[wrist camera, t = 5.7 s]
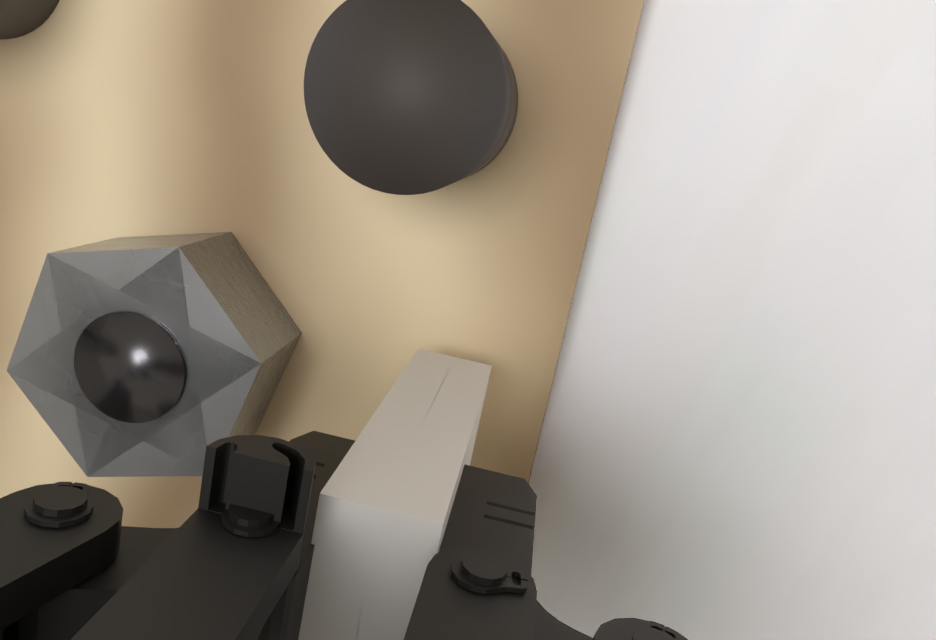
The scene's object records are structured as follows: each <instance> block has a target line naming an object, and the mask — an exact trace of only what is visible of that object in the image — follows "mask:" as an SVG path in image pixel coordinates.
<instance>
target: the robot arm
mask: <svg viewBox="0 0 936 640" xmlns="http://www.w3.org/2000/svg"><path fill="white" fill-rule="evenodd" d="M491 367H492V365H487V364H483V363H479V362H474V361H470V360H466V359H461V358H457V357H453V356H448V355H444V354H440V353H435V352H431V351H427V350H422V349H417V351H416V352H415V354H414V355H413V357H412V358H411V360H410V361H409V363H408V364H407V366H406V367H405V369H404V370H403V371H402V373H401V374H400V376H399V377H398V379H397V380H396V382H395V383H394V385H393V386H392V388H391V389H390V391H389V392H388V394H387V395H386V397H385V398H384V399H383V401H382V402H381V404H380V405H379V407H378V408H377V410H376V411H375V413H374V414H373V416H372V417H371V419H370V420H369V422H368V423H367V425H366V426H365V428H364V429H363V430H362V432H361V433H360V435H359V436H358V438H357V439H356V441H355V440H351V439H347V438H342V437H338V436H334V435H330V434H326V433H322V432H317V431H311V432H309V433H306V434H304V435H301V436H298V437H296V438H293V439H291V440H290V441H286V440H283V439H280V438H275V437H268V436H262V435H236V436H231V437H227V438H222V439H218V440H216V441H215V442H213V443H211V444H209V445H207V446H206V452H205V460H204V468H203V475H202V483H201V491H200V498H199V506H198V509H197V510H196V511H195V512H194V513H193V514H192V515H191V516H190V517H189V518H188V519H187V520H186V521H185V522H184V523H183V524H182V525H181V526H180V527H179V528H147V527H129V526H122V516H123V507H122V505H121V503H120V501H119V499H118V498H117V497H116V496H114V495H112V494H111V493H109V492H108V491H106V490H105V489H101V488H97V487H94V486H90V485H87V484H84V483H77V482H75V483H72V482H57V483H53V484H43V485H36V486H33V487H29V488H26V489H23V490H19V491H16V492H14V493H11V494H9V495H6V496H4V497H2V498H0V640H688V639H686V638H685V637H683V636H682V635H681V634H679V633H678V632H676V631H675V630H673V629H671V628H669V627H664V625H662V624H659V623H656V622H652V621H645V620H641V619H637V618H619V619H613V620H611V621H609V622H606V623H604V624H602V625H601V626H600V627H599V629H598V630H597V632H596V634H595V635H594V638H591V637H589V636H587V635H585V634H583V633H581V632H579V631H577V630H574V629H573V628H571V627H569V626H567V625H566V624H564V623H562V622H560V621H559V620H557V619H556V618H555V617H553V616H552V615H551V614H550V613H548V612H547V611H546V610H545V609H544V608H543V607H542V606H541V604H540V603H539V602H538V601H537V600H536V595H537V591H536V587H535V583H534V579H533V578H532V577H531V566H532V552H533V538H534V524H535V511H536V497H537V496H536V494H535V493H534V492H533V490H532V489H531V487H530V486H529V484H528V483H527V481H526V480H525V479H524V478H520V477H515V476H511V475H507V474H503V473H499V472H494V471H490V470H486V469H482V468H478V467H474V466H470V462H471V458H472V453H473V448H474V444H475V439H476V435H477V430H478V426H479V421H480V417H481V412H482V408H483V403H484V399H485V394H486V390H487V385H488V381H489V376H490V372H491Z"/></svg>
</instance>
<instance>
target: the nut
mask: <svg viewBox="0 0 936 640" xmlns="http://www.w3.org/2000/svg"><path fill="white" fill-rule="evenodd" d="M301 334H302V332H301V330H300V329H299V328H298V326H297V325H296V323H295V322H294V320H293V319H292V318H291V316H290V315H289V313H288V312H287V310H286V309H285V308H284V306H283V305H282V303H281V302H280V300H279V299H278V297H277V296H276V295H275V293H274V292H273V290H272V289H271V287H270V286H269V285H268V283H267V282H266V280H265V279H264V277H263V276H262V275H261V273H260V272H259V270H258V269H257V267H256V266H255V265H254V263H253V262H252V260H251V259H250V257H249V256H248V254H247V253H246V252H245V250H244V249H243V247H242V246H241V244H240V243H239V242H238V240H237V239H236V237H235V236H234V234H233V233H232V232H215V233H196V234H176V235H156V236H136V237H117V238H112V239H108V240H104V241H99V242H95V243H91V244H86V245H82V246H77V247H73V248H69V249H64V250H60V251H56V252H51V253H47V256H46V259H45V262H44V265H43V267H42V270H41V273H40V276H39V279H38V282H37V285H36V287H35V290H34V293H33V296H32V299H31V302H30V305H29V307H28V310H27V313H26V316H25V319H24V322H23V325H22V327H21V330H20V333H19V336H18V339H17V342H16V345H15V347H14V350H13V353H12V356H11V359H10V362H9V365H8V367H7V370H6V371H7V372H8V373H9V375H10V376H11V377H12V379H13V380H14V381H15V383H16V384H17V385H18V387H19V388H20V389H21V390H22V392H23V393H24V394H25V396H26V397H27V398H28V400H29V401H30V402H31V404H32V405H33V406H34V408H35V409H36V410H37V411H38V413H39V414H40V415H41V417H42V418H43V419H44V421H45V422H46V423H47V425H48V426H49V427H50V429H51V430H52V431H53V433H54V434H55V435H56V436H57V438H58V439H59V440H60V442H61V443H62V444H63V446H64V447H65V448H66V450H67V451H68V452H69V454H70V455H71V456H72V458H73V459H74V460H75V461H76V463H77V464H78V465H79V467H80V468H81V469H82V471H83V472H84V473H85V475H86V476H87V477H155V476H202V475H203V468H204V460H205V452H206V446H207V445H209V444H211V443H213V442H215V441H216V440H218V439H222V438H227V437H231V436H236V435H254V434H255V433H256V432H257V430H258V428H259V426H260V424H261V422H262V419H263V417H264V415H265V413H266V411H267V408H268V406H269V404H270V402H271V400H272V397H273V395H274V393H275V391H276V389H277V386H278V384H279V382H280V380H281V378H282V375H283V373H284V371H285V369H286V367H287V364H288V362H289V360H290V358H291V356H292V353H293V351H294V349H295V347H296V345H297V342H298V340H299V338H300V336H301Z"/></svg>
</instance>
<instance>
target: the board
mask: <svg viewBox="0 0 936 640" xmlns="http://www.w3.org/2000/svg"><path fill="white" fill-rule="evenodd" d="M643 4H644V0H0V498H2V497H4V496H6V495H9V494H11V493H14V492H16V491H19V490H23V489H26V488H29V487H33V486H36V485H43V484H53V483H57V482H72V483H75V482H77V483H84V484H87V485H90V486H94V487H97V488H101V489H105V490H106V491H108V492H109V493H111V494H112V495H114V496H116V497H117V498H118V499H119V501H120V503H121V505H122V507H123V516H122V526H129V527H147V528H179V527H180V526H181V525H182V524H183V523H184V522H185V521H186V520H187V519H188V518H189V517H190V516H191V515H192V514H193V513H194V512H195V511H196V510H197V509H198V506H199V498H200V491H201V483H202V476H155V477H87V476H86V475H85V473H84V472H83V471H82V469H81V468H80V467H79V465H78V464H77V463H76V461H75V460H74V459H73V458H72V456H71V455H70V454H69V452H68V451H67V450H66V448H65V447H64V446H63V444H62V443H61V442H60V440H59V439H58V438H57V436H56V435H55V434H54V433H53V431H52V430H51V429H50V427H49V426H48V425H47V423H46V422H45V421H44V419H43V418H42V417H41V415H40V414H39V413H38V411H37V410H36V409H35V408H34V406H33V405H32V404H31V402H30V401H29V400H28V398H27V397H26V396H25V394H24V393H23V392H22V390H21V389H20V388H19V387H18V385H17V384H16V383H15V381H14V380H13V379H12V377H11V376H10V375H9V373H8V372H7V371H6V370H7V367H8V365H9V362H10V359H11V356H12V353H13V350H14V347H15V345H16V342H17V339H18V336H19V333H20V330H21V327H22V325H23V322H24V319H25V316H26V313H27V310H28V307H29V305H30V302H31V299H32V296H33V293H34V290H35V287H36V285H37V282H38V279H39V276H40V273H41V270H42V267H43V265H44V262H45V259H46V256H47V253H51V252H56V251H60V250H64V249H69V248H73V247H77V246H82V245H86V244H91V243H95V242H99V241H104V240H108V239H112V238H117V237H136V236H156V235H176V234H196V233H215V232H232V233H233V234H234V236H235V237H236V239H237V240H238V242H239V243H240V244H241V246H242V247H243V249H244V250H245V252H246V253H247V254H248V256H249V257H250V259H251V260H252V262H253V263H254V265H255V266H256V267H257V269H258V270H259V272H260V273H261V275H262V276H263V277H264V279H265V280H266V282H267V283H268V285H269V286H270V287H271V289H272V290H273V292H274V293H275V295H276V296H277V297H278V299H279V300H280V302H281V303H282V305H283V306H284V308H285V309H286V310H287V312H288V313H289V315H290V316H291V318H292V319H293V320H294V322H295V323H296V325H297V326H298V328H299V329H300V330H301V332H302V334H301V336H300V338H299V340H298V342H297V345H296V347H295V349H294V351H293V353H292V356H291V358H290V360H289V362H288V364H287V367H286V369H285V371H284V373H283V375H282V378H281V380H280V382H279V384H278V386H277V389H276V391H275V393H274V395H273V397H272V400H271V402H270V404H269V406H268V408H267V411H266V413H265V415H264V417H263V419H262V422H261V424H260V426H259V428H258V430H257V432H256V433H255V434H254V435H262V436H268V437H275V438H280V439H283V440H286V441H290V440H291V439H293V438H296V437H298V436H301V435H304V434H306V433H309V432H311V431H317V432H322V433H326V434H330V435H334V436H338V437H342V438H347V439H351V440H355V441H356V439H357V438H358V436H359V435H360V433H361V432H362V430H363V429H364V428H365V426H366V425H367V423H368V422H369V420H370V419H371V417H372V416H373V414H374V413H375V411H376V410H377V408H378V407H379V405H380V404H381V402H382V401H383V399H384V398H385V397H386V395H387V394H388V392H389V391H390V389H391V388H392V386H393V385H394V383H395V382H396V380H397V379H398V377H399V376H400V374H401V373H402V371H403V370H404V369H405V367H406V366H407V364H408V363H409V361H410V360H411V358H412V357H413V355H414V354H415V352H416V351H417V349H422V350H427V351H431V352H435V353H440V354H444V355H448V356H453V357H457V358H461V359H466V360H470V361H474V362H479V363H483V364H487V365H492V367H491V372H490V376H489V381H488V385H487V390H486V394H485V399H484V403H483V408H482V412H481V417H480V421H479V426H478V430H477V435H476V439H475V444H474V448H473V453H472V458H471V462H470V466H474V467H478V468H482V469H486V470H490V471H494V472H499V473H503V474H507V475H511V476H515V477H520V478H524V479H525V480H526V481H527V483H528V482H529V478H530V474H531V470H532V466H533V461H534V457H535V453H536V449H537V445H538V441H539V436H540V432H541V428H542V424H543V420H544V416H545V411H546V407H547V403H548V399H549V395H550V391H551V386H552V382H553V378H554V374H555V370H556V366H557V362H558V357H559V353H560V349H561V345H562V341H563V337H564V332H565V328H566V324H567V320H568V316H569V312H570V307H571V303H572V299H573V295H574V291H575V287H576V283H577V278H578V274H579V270H580V266H581V262H582V258H583V253H584V249H585V245H586V241H587V237H588V233H589V228H590V224H591V220H592V216H593V212H594V208H595V203H596V199H597V195H598V191H599V187H600V183H601V179H602V174H603V170H604V166H605V162H606V158H607V154H608V149H609V145H610V141H611V137H612V133H613V129H614V124H615V120H616V116H617V112H618V108H619V104H620V99H621V95H622V91H623V87H624V83H625V79H626V75H627V70H628V66H629V62H630V58H631V54H632V50H633V45H634V41H635V37H636V33H637V29H638V25H639V20H640V16H641V12H642V8H643Z"/></svg>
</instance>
